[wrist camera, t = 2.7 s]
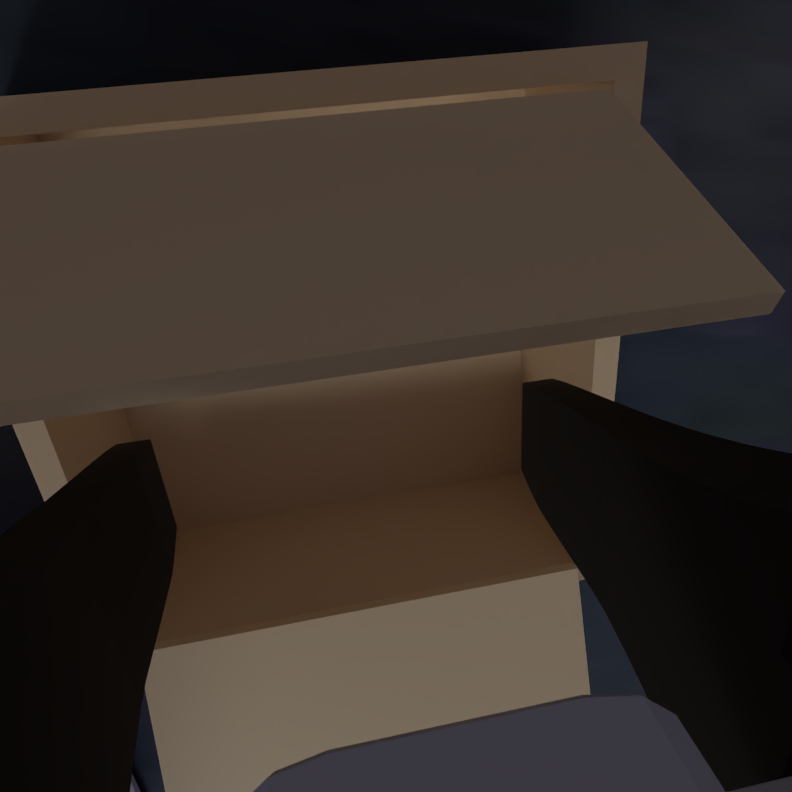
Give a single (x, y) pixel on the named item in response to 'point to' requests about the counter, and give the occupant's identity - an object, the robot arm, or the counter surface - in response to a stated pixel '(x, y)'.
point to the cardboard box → (334, 388)
